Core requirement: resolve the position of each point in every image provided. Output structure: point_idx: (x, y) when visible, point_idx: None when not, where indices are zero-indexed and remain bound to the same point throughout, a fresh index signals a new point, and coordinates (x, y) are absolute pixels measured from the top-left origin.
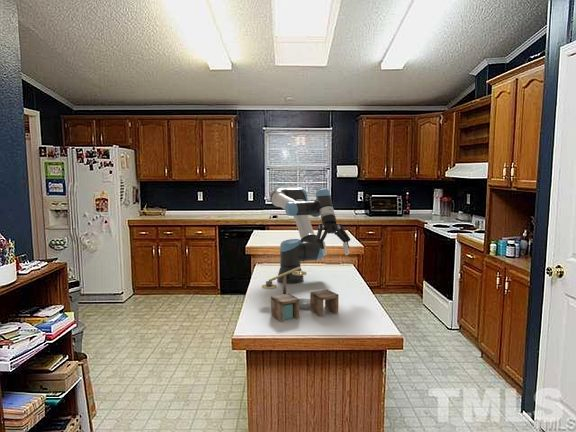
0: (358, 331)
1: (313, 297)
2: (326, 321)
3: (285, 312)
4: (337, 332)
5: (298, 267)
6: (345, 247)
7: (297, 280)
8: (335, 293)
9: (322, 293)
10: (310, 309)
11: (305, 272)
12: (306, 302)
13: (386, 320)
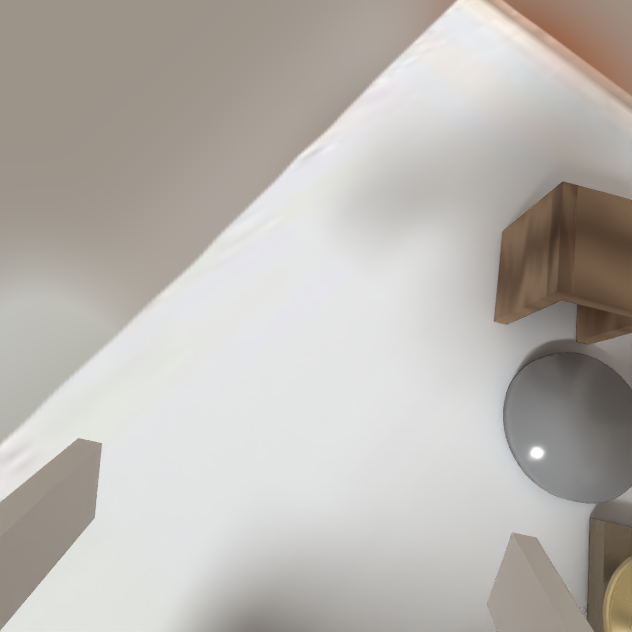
0: (554, 80)
1: None
2: None
3: None
4: (620, 121)
5: None
6: (9, 569)
7: None
8: (563, 205)
9: (625, 255)
10: (593, 341)
11: (624, 596)
12: (571, 421)
13: (394, 64)
